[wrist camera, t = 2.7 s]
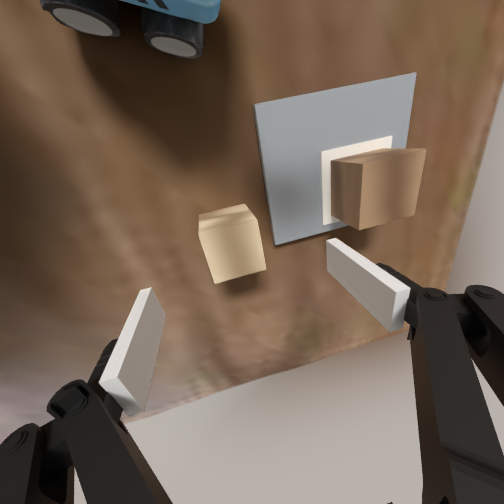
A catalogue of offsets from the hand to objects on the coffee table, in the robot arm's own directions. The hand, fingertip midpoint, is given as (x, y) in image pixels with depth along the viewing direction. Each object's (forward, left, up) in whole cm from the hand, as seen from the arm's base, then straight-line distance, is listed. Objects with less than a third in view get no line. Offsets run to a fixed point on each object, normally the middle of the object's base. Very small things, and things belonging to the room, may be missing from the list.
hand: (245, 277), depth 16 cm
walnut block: (+15, +2, -9) cm, 17 cm away
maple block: (0, 0, -10) cm, 10 cm away
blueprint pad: (+13, +4, -10) cm, 16 cm away
